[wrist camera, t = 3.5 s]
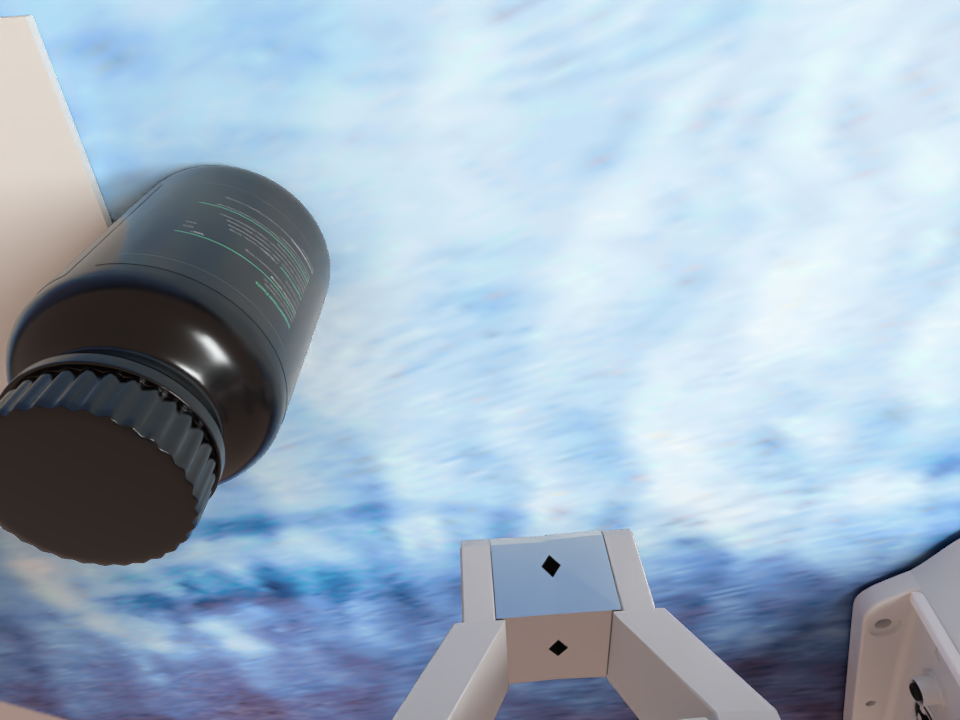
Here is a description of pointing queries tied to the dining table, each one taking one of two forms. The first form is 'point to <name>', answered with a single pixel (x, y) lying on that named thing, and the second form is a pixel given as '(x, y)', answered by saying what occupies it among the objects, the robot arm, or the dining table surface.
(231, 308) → the supplement bottle
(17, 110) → the mat
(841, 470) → the dining table surface
